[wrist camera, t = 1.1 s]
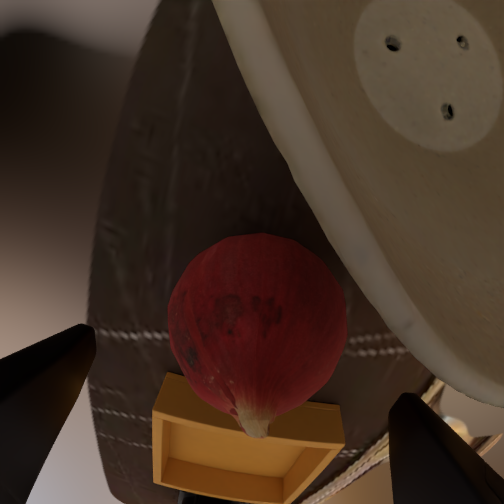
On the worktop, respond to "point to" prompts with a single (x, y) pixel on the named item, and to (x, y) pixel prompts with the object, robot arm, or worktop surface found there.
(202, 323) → the onion
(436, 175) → the flower pot
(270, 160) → the worktop surface
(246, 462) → the amber tray
